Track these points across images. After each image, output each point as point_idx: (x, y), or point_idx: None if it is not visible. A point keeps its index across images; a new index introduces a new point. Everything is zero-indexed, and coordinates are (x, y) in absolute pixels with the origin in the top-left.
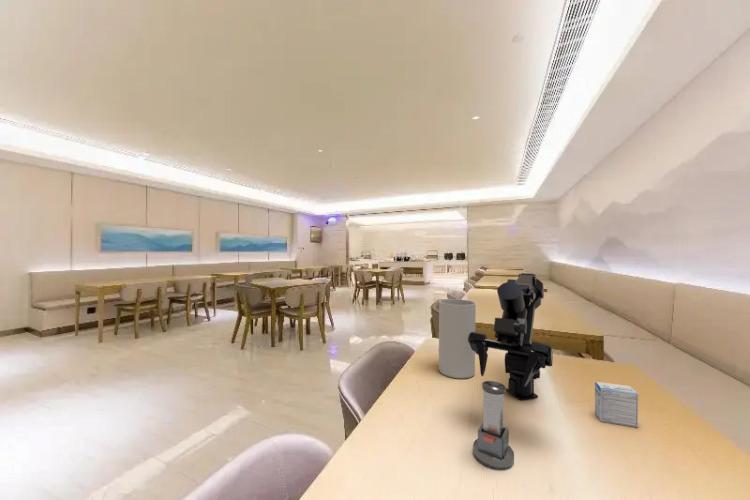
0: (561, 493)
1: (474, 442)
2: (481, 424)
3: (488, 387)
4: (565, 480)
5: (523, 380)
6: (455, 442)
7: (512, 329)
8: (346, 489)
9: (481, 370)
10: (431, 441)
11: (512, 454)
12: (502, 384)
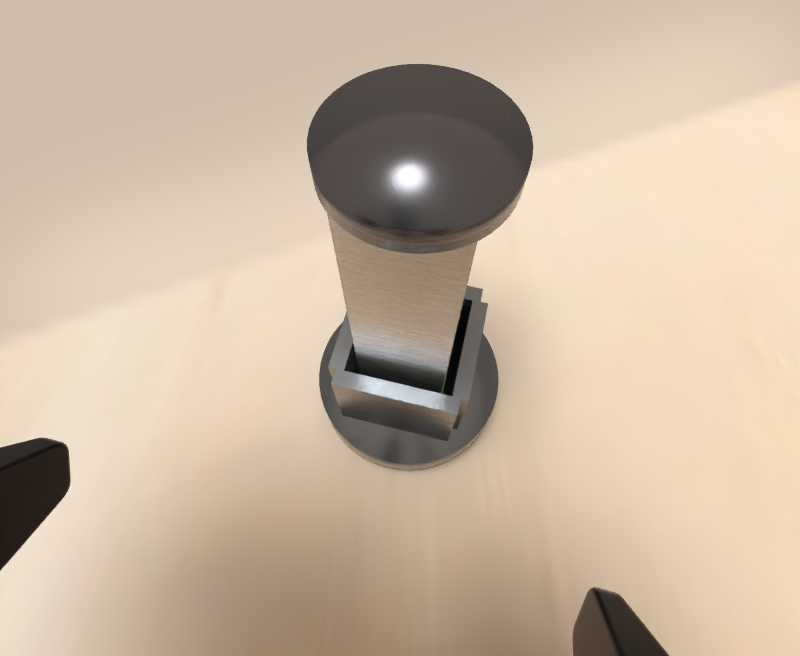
0: (192, 281)
1: (494, 390)
2: (476, 361)
3: (465, 95)
4: (150, 347)
5: (23, 460)
6: (578, 418)
7: None
8: (780, 101)
9: (634, 625)
10: (679, 383)
11: (326, 365)
12: (330, 186)
